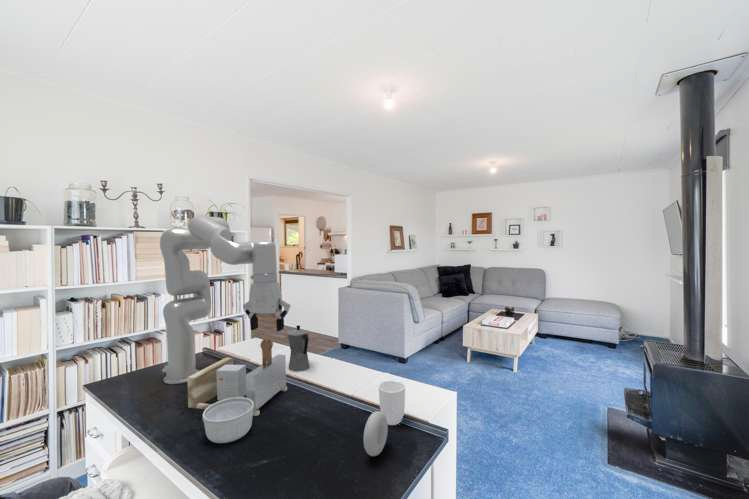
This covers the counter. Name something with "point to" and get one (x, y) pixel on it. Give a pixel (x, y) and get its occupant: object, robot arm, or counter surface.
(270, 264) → the robot arm
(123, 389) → the counter surface
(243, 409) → the ramekin
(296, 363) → the coffeepot
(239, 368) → the small box
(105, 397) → the counter surface
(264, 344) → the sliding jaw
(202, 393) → the frame
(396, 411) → the white cup
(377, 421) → the light grey round disc
